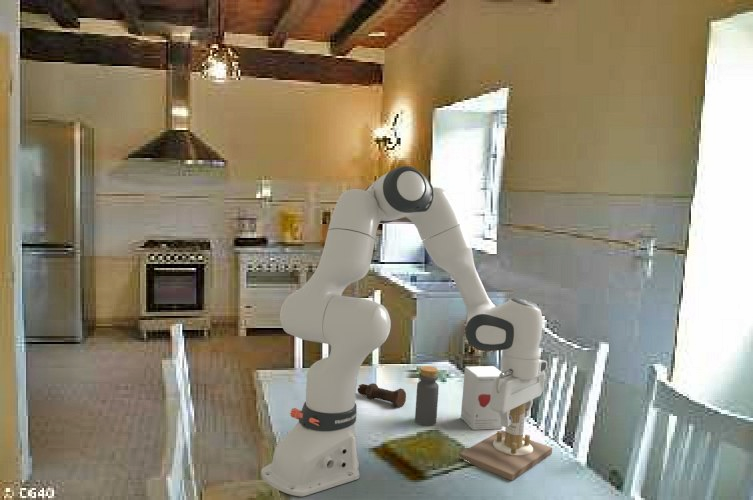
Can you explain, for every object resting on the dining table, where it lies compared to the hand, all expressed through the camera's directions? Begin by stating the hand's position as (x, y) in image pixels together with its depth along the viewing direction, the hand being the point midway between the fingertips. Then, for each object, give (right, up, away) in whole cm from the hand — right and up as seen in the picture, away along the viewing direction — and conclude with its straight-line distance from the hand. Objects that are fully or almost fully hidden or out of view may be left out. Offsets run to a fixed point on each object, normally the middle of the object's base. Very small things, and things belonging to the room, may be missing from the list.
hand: (515, 421), depth 143 cm
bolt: (-33, -4, +32) cm, 46 cm away
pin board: (-2, -8, -1) cm, 9 cm away
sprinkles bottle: (0, -7, +2) cm, 7 cm away
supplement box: (-5, -6, +19) cm, 20 cm away
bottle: (-20, -6, +18) cm, 28 cm away
